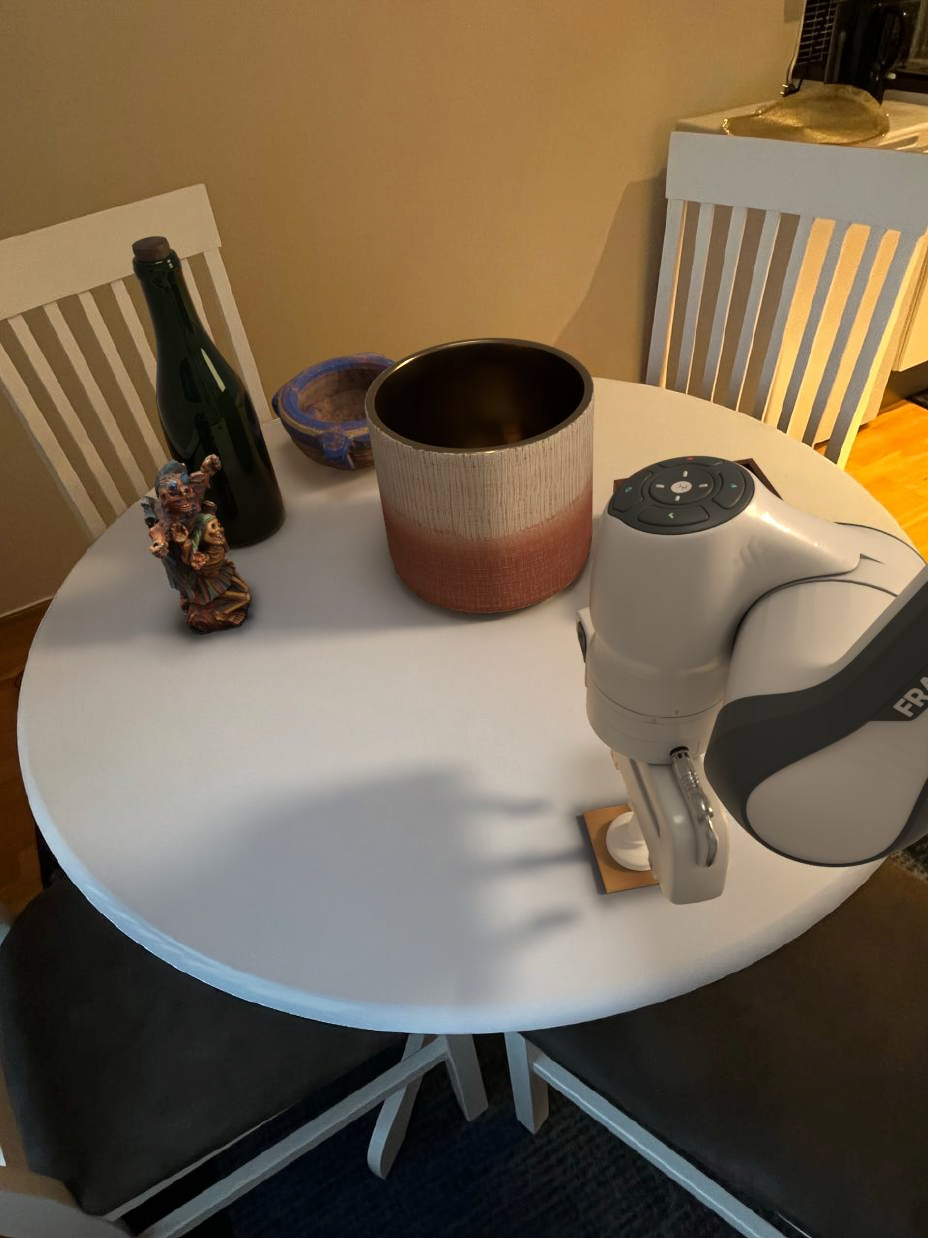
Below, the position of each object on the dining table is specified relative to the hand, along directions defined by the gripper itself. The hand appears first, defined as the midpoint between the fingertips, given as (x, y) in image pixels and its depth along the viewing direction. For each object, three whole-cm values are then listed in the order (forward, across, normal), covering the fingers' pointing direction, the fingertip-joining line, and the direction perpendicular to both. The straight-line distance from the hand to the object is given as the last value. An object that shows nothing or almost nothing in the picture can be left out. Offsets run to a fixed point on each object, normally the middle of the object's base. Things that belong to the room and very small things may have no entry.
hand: (642, 812), depth 62 cm
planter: (+5, +38, +5) cm, 39 cm away
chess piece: (+4, 0, 0) cm, 4 cm away
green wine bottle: (+5, +51, +33) cm, 61 cm away
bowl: (+5, +62, +18) cm, 65 cm away
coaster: (+4, 0, 0) cm, 4 cm away
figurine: (+5, +35, +34) cm, 49 cm away
